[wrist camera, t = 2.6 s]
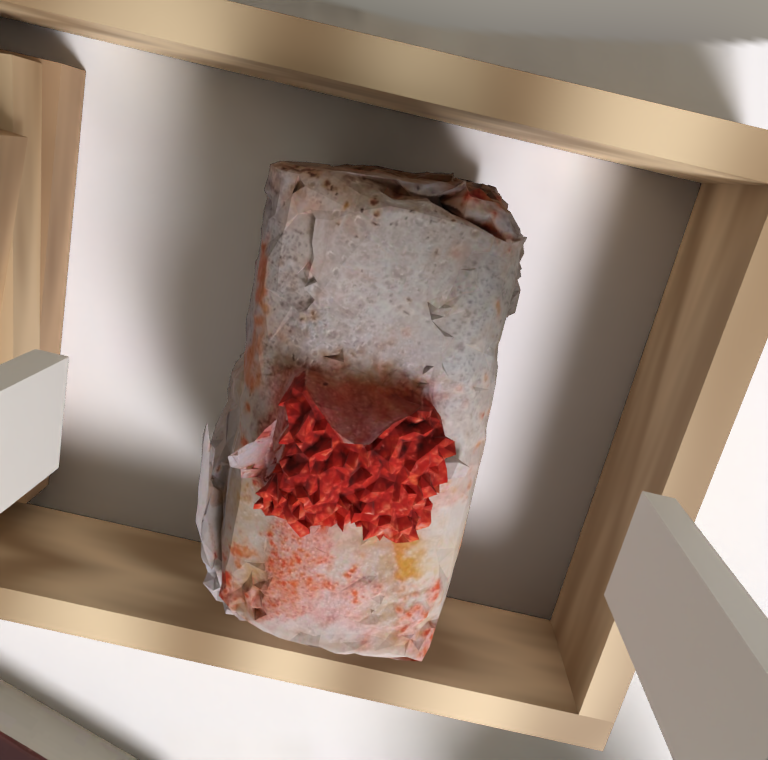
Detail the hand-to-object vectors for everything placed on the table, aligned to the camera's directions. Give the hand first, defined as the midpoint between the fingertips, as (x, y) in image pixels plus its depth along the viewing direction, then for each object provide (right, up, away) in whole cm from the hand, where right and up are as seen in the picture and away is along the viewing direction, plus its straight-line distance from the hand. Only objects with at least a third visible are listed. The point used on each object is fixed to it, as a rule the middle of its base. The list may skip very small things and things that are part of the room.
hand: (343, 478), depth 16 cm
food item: (0, +3, +9) cm, 10 cm away
